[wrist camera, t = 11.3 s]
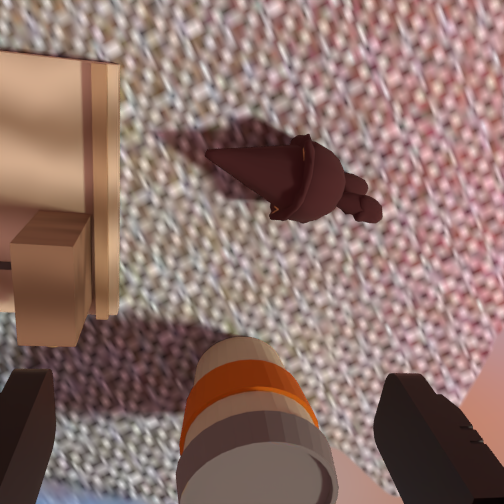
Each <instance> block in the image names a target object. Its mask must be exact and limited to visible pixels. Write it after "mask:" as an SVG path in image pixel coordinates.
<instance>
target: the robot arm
mask: <svg viewBox="0 0 504 504" xmlns="http://www.w3.org/2000/svg"><path fill="white" fill-rule="evenodd" d="M55 431H56V415H55V399H54V384H53V373H52V370H51V369H14V370H13V371H12V373H11V375H10V377H9V379H8V381H7V383H6V385H5V386H4V388H3V390H2V392H1V393H0V504H35V503H36V500H37V497H38V494H39V491H40V487H41V484H42V481H43V478H44V475H45V472H46V469H47V465H48V462H49V459H50V456H51V453H52V449H53V445H54V439H55ZM373 431H374V438H375V442H376V445H377V448H378V450H379V452H380V454H381V456H382V458H383V460H384V462H385V464H386V467H387V469H388V471H389V473H390V475H391V477H392V479H393V481H394V483H395V486H396V488H397V490H398V492H399V494H400V496H401V498H402V500H403V502H404V504H504V467H503V466H502V465H501V463H500V462H499V461H498V459H497V458H496V457H495V455H494V454H493V453H492V451H491V450H490V449H489V447H488V446H487V445H486V444H484V443H483V439H482V438H481V436H480V435H479V434H478V432H477V431H476V430H473V426H472V424H471V423H470V422H469V420H468V419H467V418H466V416H465V415H464V414H463V412H462V411H461V410H460V409H459V408H458V407H457V406H456V405H454V404H453V403H452V402H451V401H449V400H448V399H447V398H446V397H444V396H443V395H442V394H436V393H435V392H434V390H433V389H432V387H431V386H430V385H429V383H428V382H427V380H426V379H425V378H424V377H423V376H422V375H421V374H418V373H391V374H389V375H388V376H387V378H386V380H385V383H384V387H383V390H382V394H381V397H380V401H379V404H378V408H377V411H376V415H375V418H374V425H373Z"/></svg>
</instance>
